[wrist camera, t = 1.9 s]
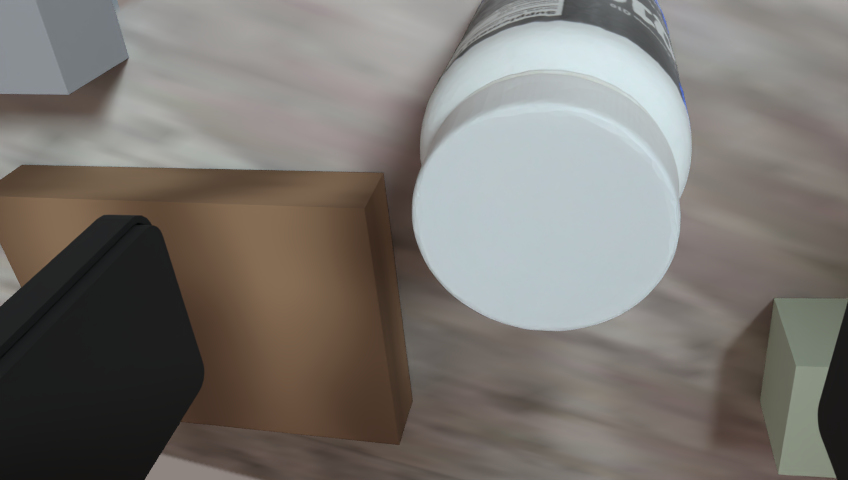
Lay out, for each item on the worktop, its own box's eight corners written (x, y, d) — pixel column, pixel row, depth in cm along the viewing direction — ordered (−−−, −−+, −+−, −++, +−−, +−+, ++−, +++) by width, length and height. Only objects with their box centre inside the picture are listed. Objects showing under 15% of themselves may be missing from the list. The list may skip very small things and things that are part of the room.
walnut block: (383, 173, 20) (364, 208, 19) (412, 400, 25) (399, 444, 24) (21, 164, 23) (-23, 195, 21) (111, 373, 28) (80, 411, 26)
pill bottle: (700, 84, 17) (765, 296, 10) (528, 166, 19) (487, 386, 13) (611, -99, 16) (618, 10, 9) (432, 13, 18) (324, 172, 11)
